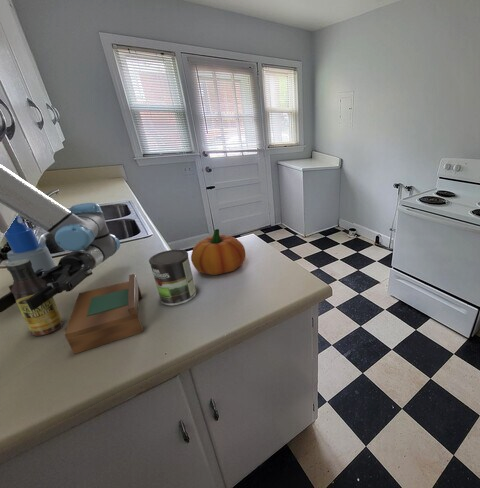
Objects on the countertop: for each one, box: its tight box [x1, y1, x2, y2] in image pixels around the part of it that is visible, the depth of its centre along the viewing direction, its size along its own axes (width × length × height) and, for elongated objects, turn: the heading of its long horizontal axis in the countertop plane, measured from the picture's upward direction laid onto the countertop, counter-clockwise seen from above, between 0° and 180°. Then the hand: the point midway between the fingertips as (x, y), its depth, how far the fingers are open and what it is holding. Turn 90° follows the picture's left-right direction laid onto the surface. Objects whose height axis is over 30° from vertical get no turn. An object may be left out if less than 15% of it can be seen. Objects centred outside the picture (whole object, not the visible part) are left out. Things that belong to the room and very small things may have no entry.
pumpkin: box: [190, 228, 247, 276], centre depth 101 cm, size 19×19×15 cm
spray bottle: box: [3, 215, 57, 287], centre depth 85 cm, size 9×9×25 cm
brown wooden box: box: [64, 273, 144, 355], centre depth 74 cm, size 14×20×8 cm
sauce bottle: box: [5, 259, 64, 337], centre depth 68 cm, size 7×6×20 cm
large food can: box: [148, 249, 197, 307], centre depth 83 cm, size 10×10×14 cm
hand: (13, 306), depth 63 cm, fingers closed on sauce bottle, 6 cm apart
